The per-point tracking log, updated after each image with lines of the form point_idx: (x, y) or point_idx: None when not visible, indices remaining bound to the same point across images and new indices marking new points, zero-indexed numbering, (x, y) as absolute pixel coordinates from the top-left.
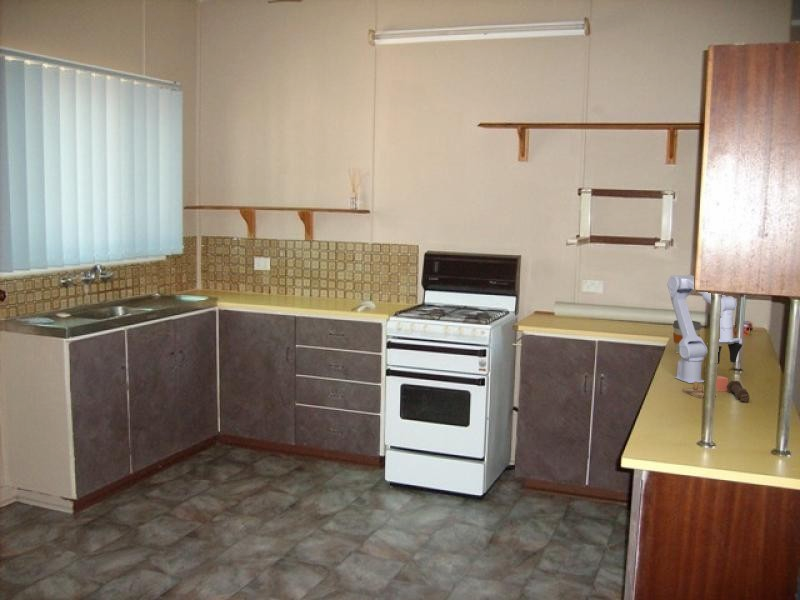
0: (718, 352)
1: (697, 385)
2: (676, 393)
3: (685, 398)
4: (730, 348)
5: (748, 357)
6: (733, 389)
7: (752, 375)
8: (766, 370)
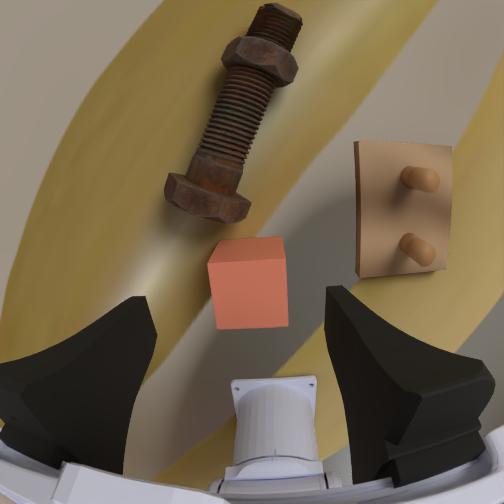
0: (398, 342)
1: (418, 239)
2: (473, 244)
3: (487, 166)
4: (114, 436)
5: None
6: (249, 146)
7: None
8: None
